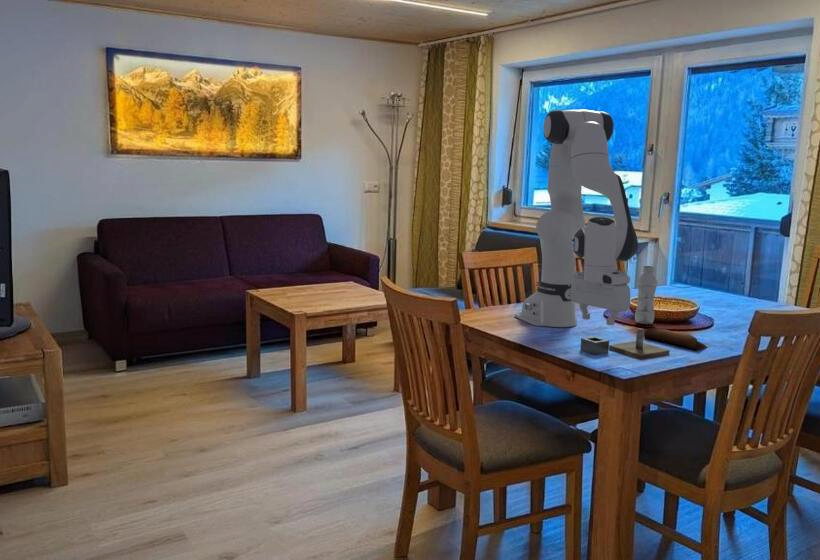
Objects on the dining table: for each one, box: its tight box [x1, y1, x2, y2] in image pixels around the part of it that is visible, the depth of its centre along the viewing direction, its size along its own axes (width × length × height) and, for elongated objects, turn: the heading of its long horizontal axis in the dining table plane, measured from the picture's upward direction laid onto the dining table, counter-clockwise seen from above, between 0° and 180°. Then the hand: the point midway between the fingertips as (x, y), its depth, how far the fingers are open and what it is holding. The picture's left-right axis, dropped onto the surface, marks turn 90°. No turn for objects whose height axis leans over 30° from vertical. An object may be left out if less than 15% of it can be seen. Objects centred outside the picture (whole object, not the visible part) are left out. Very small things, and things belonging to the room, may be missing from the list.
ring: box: [579, 335, 610, 356], centre depth 209 cm, size 6×6×4 cm
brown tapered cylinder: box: [644, 327, 709, 352], centre depth 222 cm, size 18×7×7 cm
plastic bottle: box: [634, 265, 658, 325], centre depth 246 cm, size 6×7×20 cm
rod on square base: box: [609, 327, 670, 360], centre depth 210 cm, size 12×12×7 cm
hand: (598, 322), depth 207 cm, fingers open, 8 cm apart
